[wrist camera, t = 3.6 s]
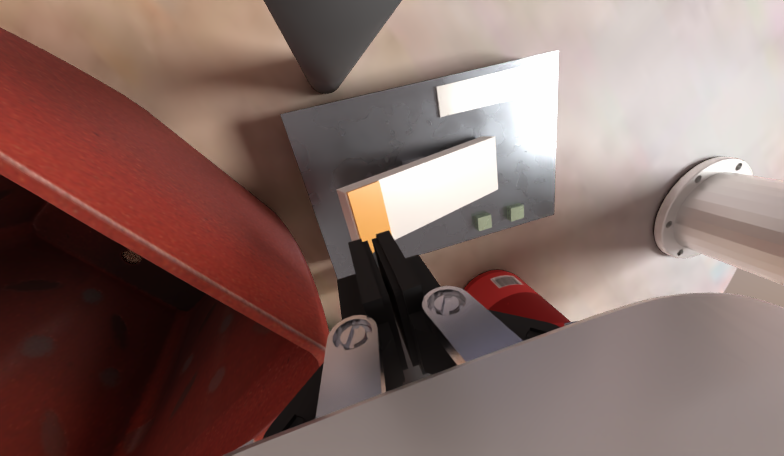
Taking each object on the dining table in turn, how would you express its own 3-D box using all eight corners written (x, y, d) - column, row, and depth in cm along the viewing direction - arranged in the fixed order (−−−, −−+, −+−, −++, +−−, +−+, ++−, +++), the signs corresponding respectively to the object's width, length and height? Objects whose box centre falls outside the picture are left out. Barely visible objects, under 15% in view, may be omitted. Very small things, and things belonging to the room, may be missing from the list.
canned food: (443, 300, 32) (496, 385, 22) (499, 253, 32) (580, 320, 22) (478, 334, 36) (538, 421, 26) (529, 293, 35) (612, 366, 25)
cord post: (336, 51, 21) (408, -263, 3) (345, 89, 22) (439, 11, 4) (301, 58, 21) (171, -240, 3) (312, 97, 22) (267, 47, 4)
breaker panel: (523, 58, 24) (578, 45, 19) (526, 201, 30) (569, 221, 25) (287, 113, 22) (276, 114, 17) (335, 257, 28) (338, 292, 22)
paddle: (482, 136, 22) (497, 136, 20) (485, 187, 23) (500, 189, 22) (336, 189, 17) (346, 193, 15) (354, 249, 18) (364, 256, 17)
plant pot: (-61, 227, 20) (-1223, 586, 5) (107, 17, 18) (-1020, -459, 3) (197, 350, 28) (49, 635, 13) (334, 215, 26) (351, 364, 11)
